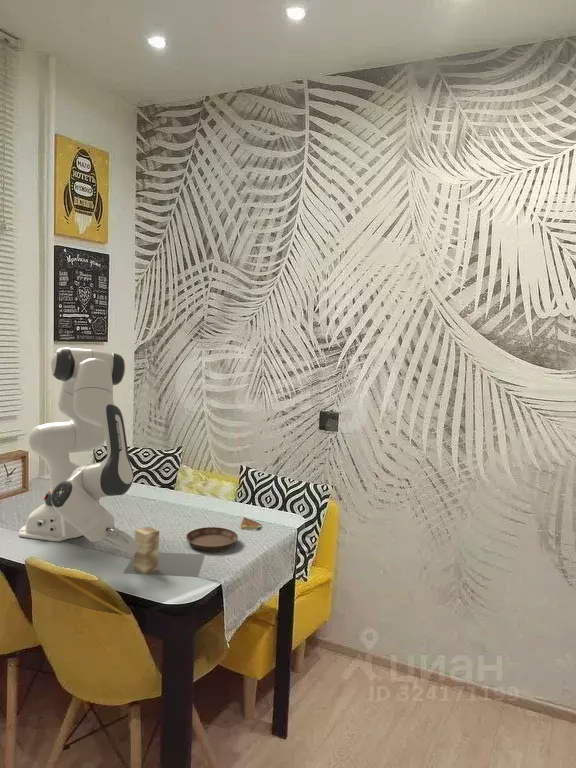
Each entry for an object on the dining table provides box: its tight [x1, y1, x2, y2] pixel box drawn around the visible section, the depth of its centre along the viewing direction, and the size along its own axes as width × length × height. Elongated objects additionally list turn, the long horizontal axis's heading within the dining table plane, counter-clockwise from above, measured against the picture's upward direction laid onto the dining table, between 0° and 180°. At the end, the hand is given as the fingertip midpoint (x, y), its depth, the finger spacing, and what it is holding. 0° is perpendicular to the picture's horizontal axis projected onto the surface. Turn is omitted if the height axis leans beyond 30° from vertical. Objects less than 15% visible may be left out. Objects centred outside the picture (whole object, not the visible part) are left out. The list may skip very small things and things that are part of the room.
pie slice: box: [240, 516, 263, 530], centre depth 228 cm, size 11×8×2 cm
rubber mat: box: [122, 552, 206, 578], centre depth 185 cm, size 22×17×1 cm
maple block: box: [133, 526, 160, 575], centre depth 180 cm, size 5×5×12 cm
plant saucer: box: [185, 526, 239, 552], centre depth 207 cm, size 18×18×3 cm
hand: (126, 550), depth 174 cm, fingers closed
